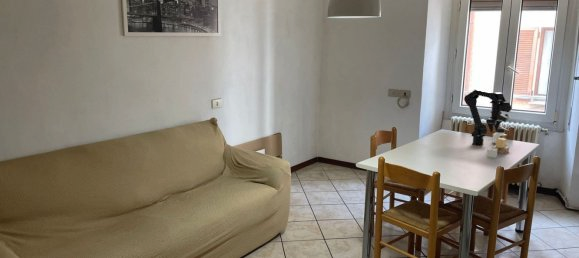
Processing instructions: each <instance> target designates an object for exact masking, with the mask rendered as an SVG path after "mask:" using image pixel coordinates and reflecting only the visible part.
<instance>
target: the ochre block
mask: <svg viewBox="0 0 579 258" xmlns="http://www.w3.org/2000/svg"><path fill="white" fill-rule="evenodd" d="M495 145H496V147H498V148H505V147H507V140H506V139H504V138H497V139H496V143H495Z"/></svg>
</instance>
